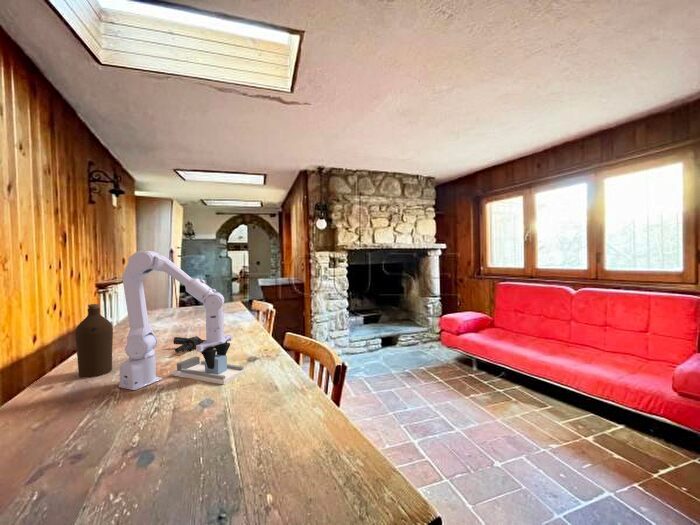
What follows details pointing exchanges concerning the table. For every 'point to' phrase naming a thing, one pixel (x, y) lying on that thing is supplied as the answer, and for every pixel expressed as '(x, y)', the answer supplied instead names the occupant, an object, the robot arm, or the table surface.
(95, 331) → the olive oil
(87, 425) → the table surface
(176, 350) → the black forked piece
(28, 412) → the table surface
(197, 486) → the table surface
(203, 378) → the rail board
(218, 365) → the block
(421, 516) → the table surface
